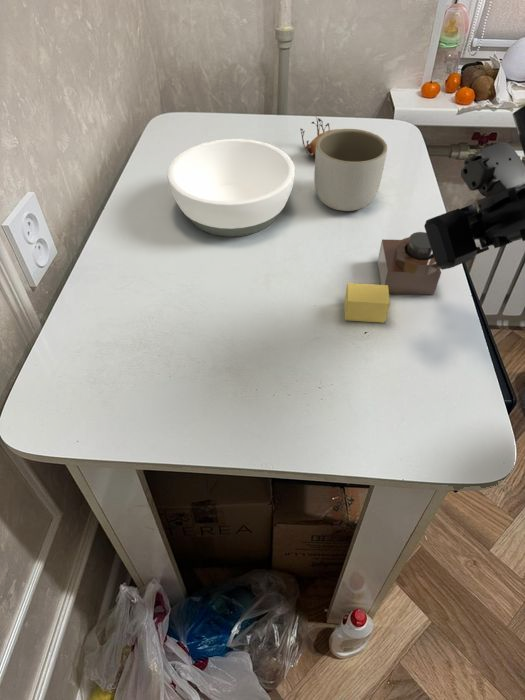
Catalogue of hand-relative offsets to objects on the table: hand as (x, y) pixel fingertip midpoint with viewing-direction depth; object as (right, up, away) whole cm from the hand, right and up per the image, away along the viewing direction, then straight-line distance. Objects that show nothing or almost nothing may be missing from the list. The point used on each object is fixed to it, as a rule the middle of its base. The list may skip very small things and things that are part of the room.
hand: (448, 236), depth 69 cm
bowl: (-31, +11, +25) cm, 42 cm away
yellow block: (-10, -10, +7) cm, 16 cm away
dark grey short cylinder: (-2, -1, +7) cm, 7 cm away
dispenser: (-3, -4, +12) cm, 13 cm away
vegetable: (-9, +27, +39) cm, 48 cm away
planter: (-10, +13, +27) cm, 32 cm away
